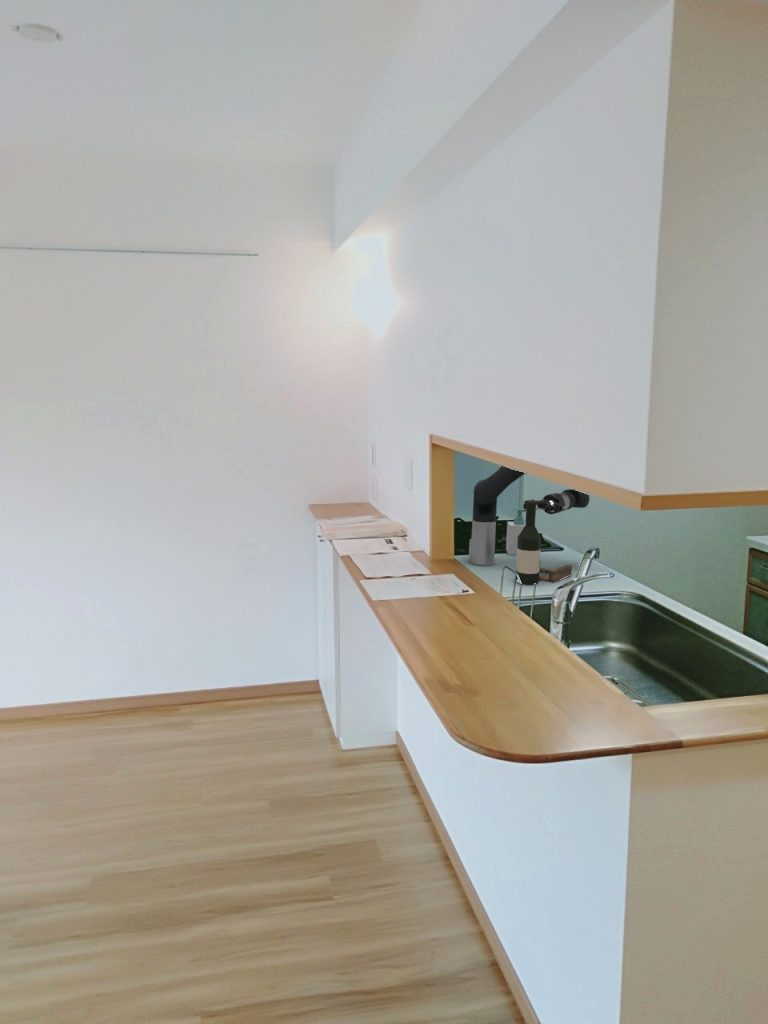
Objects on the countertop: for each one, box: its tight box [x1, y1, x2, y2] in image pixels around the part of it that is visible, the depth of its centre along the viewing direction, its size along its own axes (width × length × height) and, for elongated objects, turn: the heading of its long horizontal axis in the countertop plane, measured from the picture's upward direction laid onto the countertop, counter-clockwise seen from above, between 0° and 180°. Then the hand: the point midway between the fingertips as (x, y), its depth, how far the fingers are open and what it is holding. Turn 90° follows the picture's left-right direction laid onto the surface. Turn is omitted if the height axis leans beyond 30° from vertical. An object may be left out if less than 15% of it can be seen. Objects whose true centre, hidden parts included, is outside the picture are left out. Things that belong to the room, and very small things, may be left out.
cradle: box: [539, 559, 573, 584], centre depth 296 cm, size 15×14×4 cm
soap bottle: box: [505, 508, 526, 556], centre depth 332 cm, size 9×9×19 cm
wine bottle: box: [515, 499, 542, 586], centre depth 284 cm, size 8×8×30 cm
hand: (535, 507), depth 284 cm, fingers open, 8 cm apart
